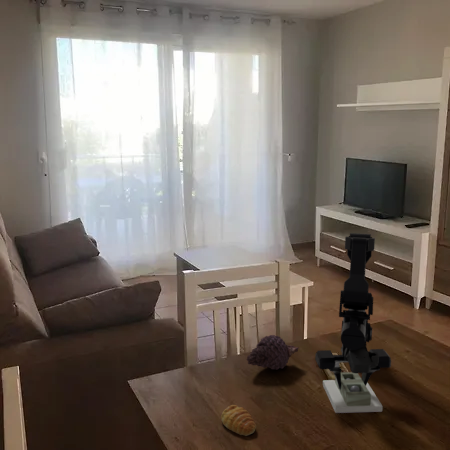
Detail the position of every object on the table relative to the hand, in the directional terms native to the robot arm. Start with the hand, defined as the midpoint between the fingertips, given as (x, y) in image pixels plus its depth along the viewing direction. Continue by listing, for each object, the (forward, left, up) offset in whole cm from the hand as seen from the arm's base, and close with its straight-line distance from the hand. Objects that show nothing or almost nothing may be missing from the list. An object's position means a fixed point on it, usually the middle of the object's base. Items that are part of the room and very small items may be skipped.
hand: (351, 388), depth 138 cm
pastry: (+11, -31, -3) cm, 33 cm away
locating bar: (+1, 0, -1) cm, 1 cm away
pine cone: (-18, -19, -3) cm, 26 cm away
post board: (0, 0, -2) cm, 3 cm away
